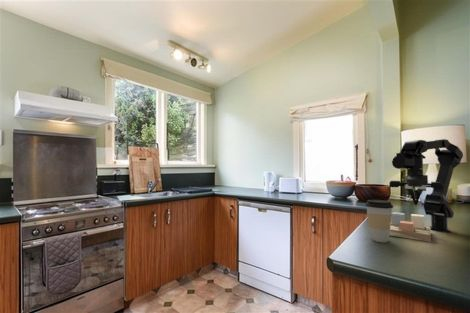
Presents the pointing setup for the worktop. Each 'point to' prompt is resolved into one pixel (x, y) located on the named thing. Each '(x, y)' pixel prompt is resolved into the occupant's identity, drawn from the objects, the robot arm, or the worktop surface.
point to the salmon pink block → (407, 226)
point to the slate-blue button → (397, 218)
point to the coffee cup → (379, 219)
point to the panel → (411, 233)
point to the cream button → (418, 221)
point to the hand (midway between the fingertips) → (415, 204)
